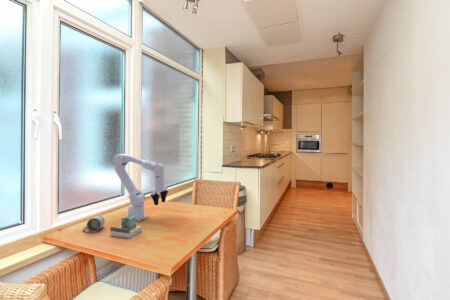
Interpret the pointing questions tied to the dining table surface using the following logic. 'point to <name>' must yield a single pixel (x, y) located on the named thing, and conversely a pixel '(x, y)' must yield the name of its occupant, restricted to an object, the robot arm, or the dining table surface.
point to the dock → (124, 231)
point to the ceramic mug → (95, 223)
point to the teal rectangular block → (128, 222)
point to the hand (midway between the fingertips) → (159, 203)
